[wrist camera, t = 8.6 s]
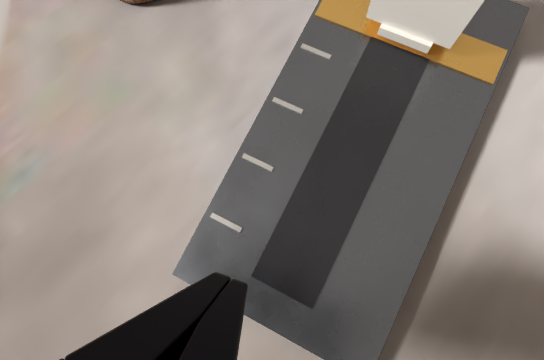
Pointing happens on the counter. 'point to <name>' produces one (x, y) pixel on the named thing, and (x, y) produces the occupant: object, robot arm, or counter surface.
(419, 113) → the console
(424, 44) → the fader tab
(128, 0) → the sauce bottle
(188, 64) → the counter surface
